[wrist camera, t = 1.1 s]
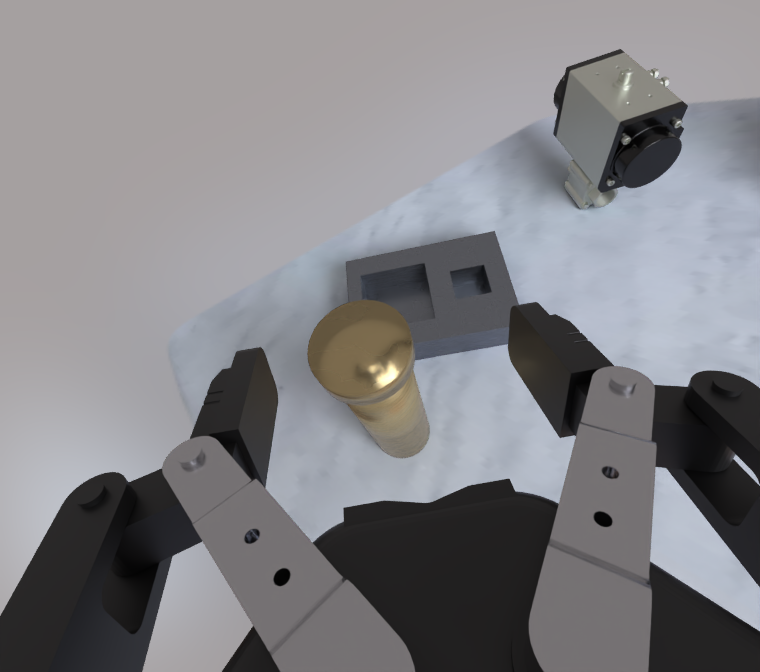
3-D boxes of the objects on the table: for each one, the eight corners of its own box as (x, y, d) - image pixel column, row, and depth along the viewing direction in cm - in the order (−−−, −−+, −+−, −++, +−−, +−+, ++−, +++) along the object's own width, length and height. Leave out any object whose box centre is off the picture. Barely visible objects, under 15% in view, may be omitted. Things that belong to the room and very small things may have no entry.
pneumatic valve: (594, 242, 38) (641, 122, 27) (539, 166, 44) (560, 44, 33) (652, 224, 37) (722, 96, 27) (589, 150, 43) (626, 22, 33)
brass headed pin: (429, 395, 34) (404, 291, 21) (439, 458, 31) (418, 384, 18) (368, 404, 34) (307, 310, 21) (373, 467, 32) (307, 403, 19)
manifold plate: (492, 252, 39) (494, 231, 37) (520, 341, 34) (525, 323, 32) (353, 280, 41) (345, 261, 38) (360, 369, 36) (352, 354, 33)
